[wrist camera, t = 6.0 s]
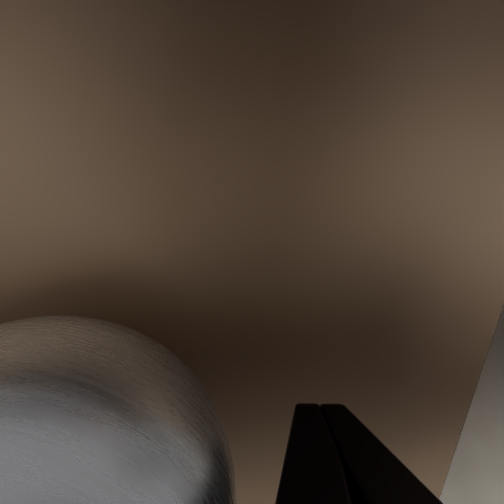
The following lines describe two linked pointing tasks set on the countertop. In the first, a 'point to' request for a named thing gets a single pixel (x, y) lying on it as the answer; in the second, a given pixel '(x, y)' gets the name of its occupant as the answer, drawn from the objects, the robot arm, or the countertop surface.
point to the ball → (104, 419)
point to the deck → (267, 202)
